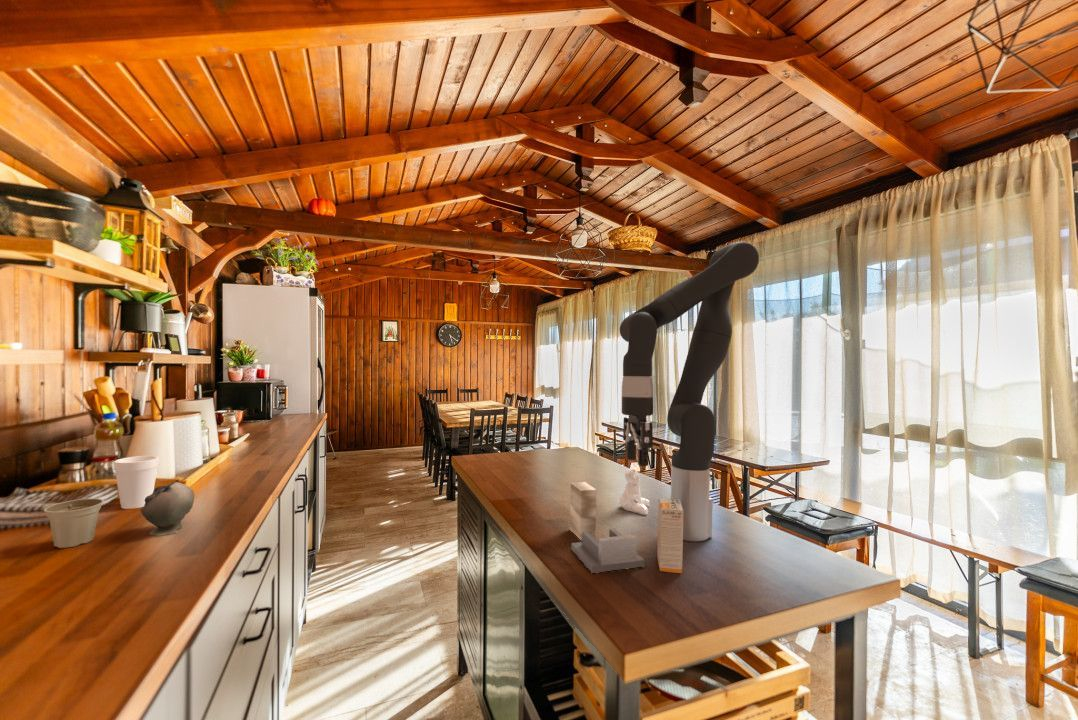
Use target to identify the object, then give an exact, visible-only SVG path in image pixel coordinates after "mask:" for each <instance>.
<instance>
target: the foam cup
mask: <svg viewBox="0 0 1078 720" xmlns="http://www.w3.org/2000/svg"><path fill="white" fill-rule="evenodd" d="M159 465H160V456H158V455H137V456H129V457H121V458H119V459H116V460H115V461H113V470H114V471H115V477H116V483H117V485H116V486H117V489H118V497H119V502H120V503H119V504H120V508H121V509H125V510H131V509H132V510H133V509H141V508H143V507H144V505H145V498H146V497H147V496H149V495H151V494H152V493H153V491H154V490H155V484H156V479H157V473H158V467H159Z"/></svg>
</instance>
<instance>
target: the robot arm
mask: <svg viewBox="0 0 1078 720" xmlns="http://www.w3.org/2000/svg"><path fill="white" fill-rule="evenodd" d="M759 263H760V254H759V251H758V249H757V248H756V246H755V245H753V244H752V243H750V242H748V241H737V242H733V243H730V244H728V245H725V246H723V247H721V248H718V249H717V250H716V251H715V252H714V253H713V254H712V255H711V256H710V259H709V261H708V266H707V268H704V269H703V270H702V271H700V272H699V273H696V274H695V275H693V276H691V277H689V278H687V279H685V280H683V281H681V282H680V283H677V284H676V285H674V286H673V287H671V288H669V289H668V290H666V291H665V292H664V293H661V295H659V296H658V297H656V298H655V299H653V301H652V302H650V303H648V304H647V305H645V306H643V307H641V308H639V309H638V310H636V311H634V312H633V313H631V314H629V315H627V316H626V317H625V318H624V319H623V320H622V321H621V323H620V325H619V334H620V337H621V338H622V340H624V341H625V342H626V343H628V346H627V352H626V353H625V355H623V360H622V382H621V414H622V415H625V416H626V417H623V431H622V433H623V434H622V440H623V441H624V444H626V459H627V460H629V461H634V460H636V459H637V458H638V459H637V465H638V466H640V467H648V466H649V451H650V449H652V448H653V447H654V441H653V440H654V439H653V438H654V436H653V434H654V432H653V428H654V427H653V425H654V424H653V422H652V421H647V420H648V419H647V417H649V416H652V415H654V383H653V382H654V381H653V380H654V379H653V356H654V352H655V347H656V344H657V343H656V341H657V337H658V329H660V328H661V327H663V326H665V325H668V324H670V323H672V322H674V321H675V320H677V319H679V318H680V317H682V316H683V315H684V314H686V313H687V312H688V311H690V310H691V309H692V308H694V307H696V306H697V305H699V304H700V307H699V311H698V315H697V319H696V322H695V326H694V328H693V331H692V336H691V338H690V343H689V347H688V351H687V354H686V359H685V361H684V365H683V368H682V369H683V370H682V372H681V377H680V381H679V383H678V385H677V388H676V390H675V393H674V396H673V398H672V400H671V403H670V406H669V408H668V412H667V415H666V423H667V426H668V429H669V430H670V431H671V433H672V434H674V435H675V436H678V437H679V438H680V439H679V440H680V441H679V449H678V450H676V451H674V452H673V453H672V454H671V459H670V460H671V463H670V464H671V465H670V466H671V467H670V499H679V500H680V502H681V505H682V508H683V541H687V542H703V541H706V540H708V539H709V538H712V537H713V516H714V515H713V514H714V513H713V509H714V508H713V507H714V504H713V503H714V500H713V498H712V497H710V492H711V491H710V490H711V489H710V486H711V485H710V483H711V482H710V479H711V478H710V477H711V475H710V474H711V473H710V472H711V461H712V459H713V457H714V453H715V445H716V444H715V441H716V418H715V414H714V412H713V411H712V409H711V408H710V407H709V406H707V405H706V404H705V405H704V404H703V403H702V401H703V397H704V393H705V391H706V388H707V386H708V384H709V382H710V381H711V379H712V378H713V377H714V376H715V374H716V373H717V372H718V370H719V368H720V367H721V366H722V364H723V363H724V361H725V359H726V356H727V353H728V350H729V346H730V343H731V340H732V335H733V325H732V324H733V323H732V317H731V313H730V299H731V295H732V291H733V288H734V285H735V284H736V283H735V282H736V281H739V280H741V279H745V278H747V277H748V276H750V275H752V274H753V273H754V272H755V271H756V270H757V268H758V267H759V266H758V265H759ZM636 444H637V445H636ZM637 448H638V450H637ZM653 449H654V448H653ZM637 454H638V455H637ZM637 456H638V457H637Z"/></svg>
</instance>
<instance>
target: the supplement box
mask: <svg viewBox="0 0 1078 720" xmlns="http://www.w3.org/2000/svg"><path fill="white" fill-rule="evenodd" d="M657 506H658V507H657V509H658V511H657V513H658V515H657V522H658V523H657V548H656V549H657V555H656V556H657V563H658V568H659V569H658V570H659V571H660V572H664V573H665V572H666V573H674V574H682V573H683V552H684V551H683V549H684V548H683V547H684V540H683V508H682V505H681V502H680V500H679V499H671V498H665V497H659V498H658V505H657Z"/></svg>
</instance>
